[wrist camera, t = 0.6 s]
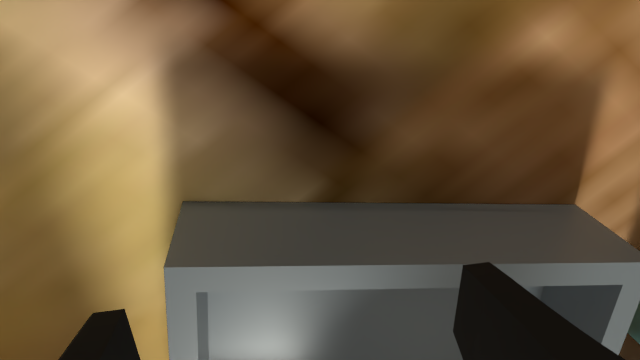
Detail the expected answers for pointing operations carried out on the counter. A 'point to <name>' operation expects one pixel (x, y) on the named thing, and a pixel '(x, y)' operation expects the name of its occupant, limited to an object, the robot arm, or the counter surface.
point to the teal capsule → (635, 325)
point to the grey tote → (379, 276)
